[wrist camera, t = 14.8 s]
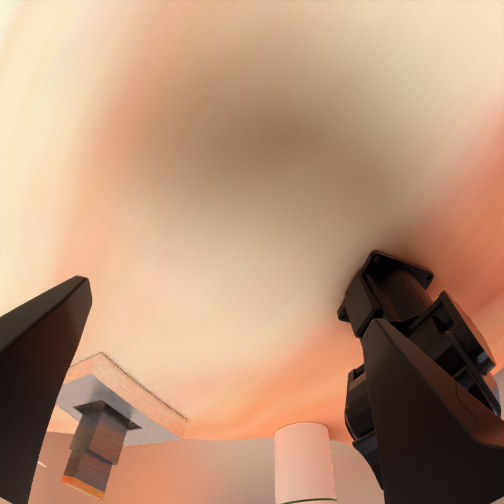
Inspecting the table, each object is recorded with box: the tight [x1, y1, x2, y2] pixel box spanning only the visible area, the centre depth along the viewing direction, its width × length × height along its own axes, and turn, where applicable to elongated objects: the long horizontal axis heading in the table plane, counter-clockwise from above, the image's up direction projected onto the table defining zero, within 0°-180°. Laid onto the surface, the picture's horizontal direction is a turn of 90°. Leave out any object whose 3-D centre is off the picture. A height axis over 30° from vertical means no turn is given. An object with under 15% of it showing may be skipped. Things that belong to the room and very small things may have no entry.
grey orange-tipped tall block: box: [61, 400, 130, 500], centre depth 26 cm, size 5×4×14 cm
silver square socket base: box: [55, 353, 186, 446], centre depth 31 cm, size 14×14×3 cm
